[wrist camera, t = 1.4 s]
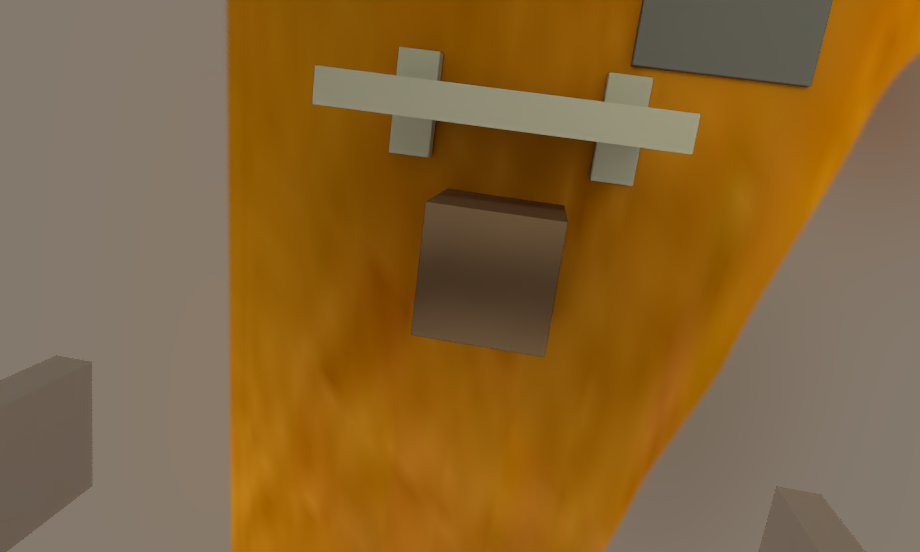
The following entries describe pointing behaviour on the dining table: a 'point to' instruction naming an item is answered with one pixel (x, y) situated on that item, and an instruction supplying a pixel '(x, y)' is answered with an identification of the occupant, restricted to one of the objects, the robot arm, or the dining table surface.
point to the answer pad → (733, 38)
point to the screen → (510, 112)
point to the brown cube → (488, 271)
